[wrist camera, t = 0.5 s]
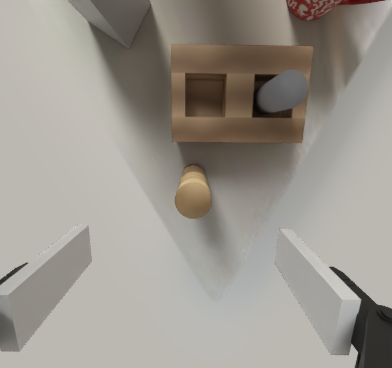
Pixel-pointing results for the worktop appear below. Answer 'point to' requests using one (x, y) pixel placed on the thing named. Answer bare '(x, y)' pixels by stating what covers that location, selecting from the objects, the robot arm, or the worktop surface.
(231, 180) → the worktop surface
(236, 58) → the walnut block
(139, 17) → the perfume bottle
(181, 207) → the oak dowel
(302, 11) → the mug
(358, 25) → the worktop surface
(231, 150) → the worktop surface
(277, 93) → the charcoal dowel
